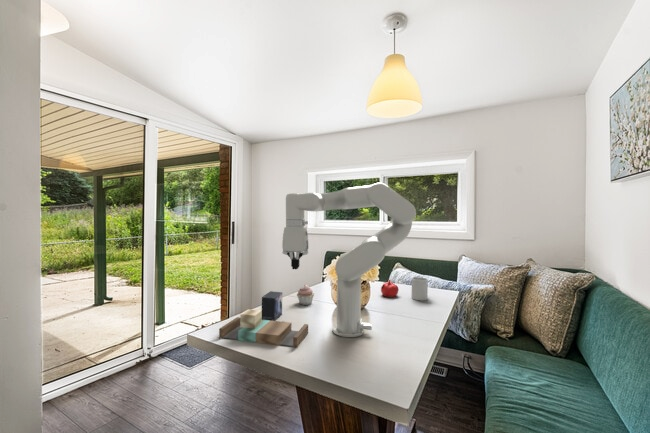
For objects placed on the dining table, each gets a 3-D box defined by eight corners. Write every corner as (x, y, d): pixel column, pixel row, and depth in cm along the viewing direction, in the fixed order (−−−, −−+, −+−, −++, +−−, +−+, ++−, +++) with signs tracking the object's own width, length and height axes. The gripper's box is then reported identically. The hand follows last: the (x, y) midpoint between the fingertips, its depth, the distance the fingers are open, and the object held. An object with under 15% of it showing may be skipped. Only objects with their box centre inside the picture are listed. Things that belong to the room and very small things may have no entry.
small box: (274, 322, 132) (274, 297, 132) (260, 321, 133) (260, 297, 133) (283, 314, 142) (283, 291, 142) (269, 313, 143) (269, 290, 143)
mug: (424, 301, 163) (424, 281, 163) (408, 298, 169) (409, 279, 168) (431, 296, 173) (432, 277, 173) (417, 294, 178) (417, 275, 178)
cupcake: (300, 300, 165) (300, 281, 164) (316, 301, 162) (316, 282, 162) (293, 305, 156) (293, 285, 155) (311, 306, 153) (311, 287, 153)
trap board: (308, 333, 120) (308, 324, 120) (297, 347, 107) (297, 337, 107) (237, 325, 127) (237, 317, 127) (219, 337, 115) (219, 328, 115)
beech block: (261, 323, 121) (261, 310, 121) (254, 328, 115) (254, 315, 115) (247, 321, 122) (247, 309, 122) (240, 327, 116) (240, 314, 116)
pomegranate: (401, 295, 175) (402, 279, 175) (392, 299, 168) (393, 282, 168) (386, 292, 182) (386, 276, 182) (377, 295, 174) (377, 279, 174)
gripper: (315, 223, 126) (315, 267, 127) (281, 223, 130) (281, 266, 130) (310, 224, 119) (310, 271, 119) (274, 224, 122) (274, 269, 123)
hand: (295, 268), depth 125 cm, fingers closed
